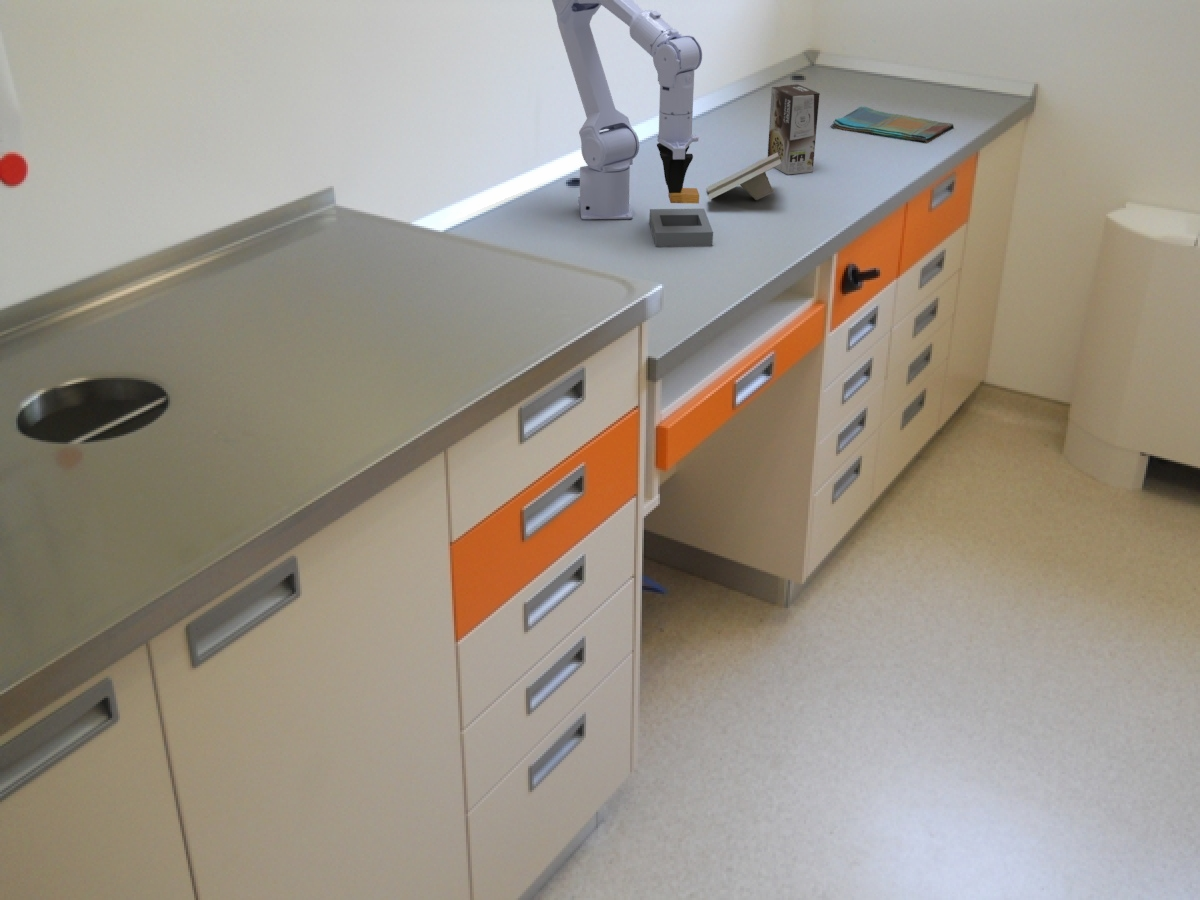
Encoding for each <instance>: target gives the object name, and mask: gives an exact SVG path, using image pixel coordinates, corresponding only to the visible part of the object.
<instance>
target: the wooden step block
mask: <svg viewBox="0 0 1200 900" xmlns="http://www.w3.org/2000/svg"><path fill="white" fill-rule="evenodd" d="M668 199H669V203H670V204H700V192H699V190H698V188H697V187H684V186H683V187H682V190H681V193H669V192H668Z"/></svg>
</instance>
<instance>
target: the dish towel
mask: <svg viewBox="0 0 1200 900" xmlns="http://www.w3.org/2000/svg"><path fill="white" fill-rule="evenodd" d="M829 127H830V128H832V129H834V130H839V131H847V132H856V133H862V134H869V135H874V136H881V137H886V138H890V139H891V138H893V139H897V140H904V141H909V142H915V143H922V144H923V143H924V144H928V143H930V142H932V141H933V140H935V139H937V138H939V137H941V136H943V135H944V134H945V133H948V132H949V131H951V130H953V129H954V128H955V126H954V124H953V123H952V122H951V123H949V122H942V121H938V120H937V121H936V120H932V119H928V118H927V119H926V118H921V117H916V116H911V115H910V116H909V115H903V114H898V113H896V114H895V113H888V112H885V111H879V110H876V109H873V108H870V107H868V106H859V107H857V108H856V109H854V111H851V112H849V113H847V114H846V115H845V116H843V117H839V118H835V119H834V120H833V122H832V124H831V125H830V126H829Z"/></svg>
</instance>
